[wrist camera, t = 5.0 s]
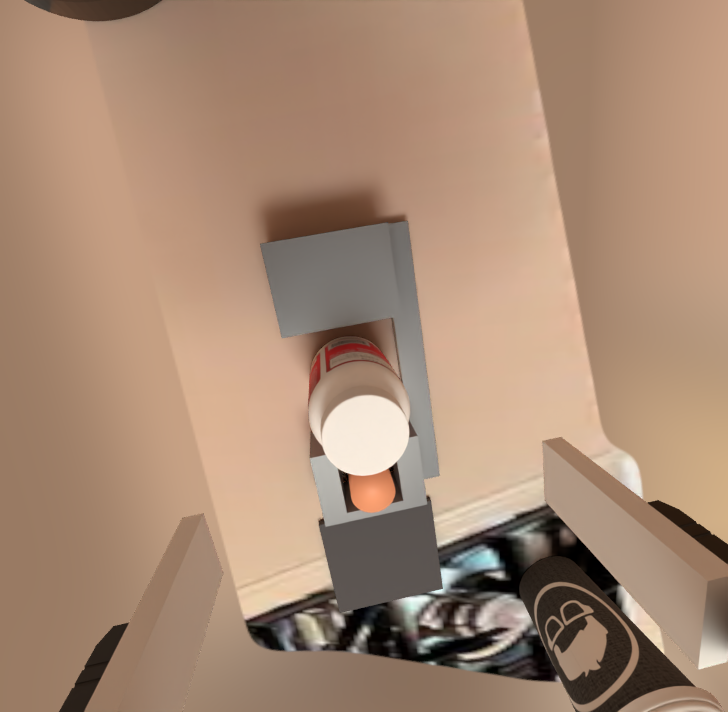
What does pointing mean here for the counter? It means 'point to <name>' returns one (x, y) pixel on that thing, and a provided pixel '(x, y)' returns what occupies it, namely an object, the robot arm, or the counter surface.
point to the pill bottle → (357, 406)
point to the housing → (350, 307)
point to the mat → (382, 557)
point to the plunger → (372, 491)
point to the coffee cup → (602, 647)
